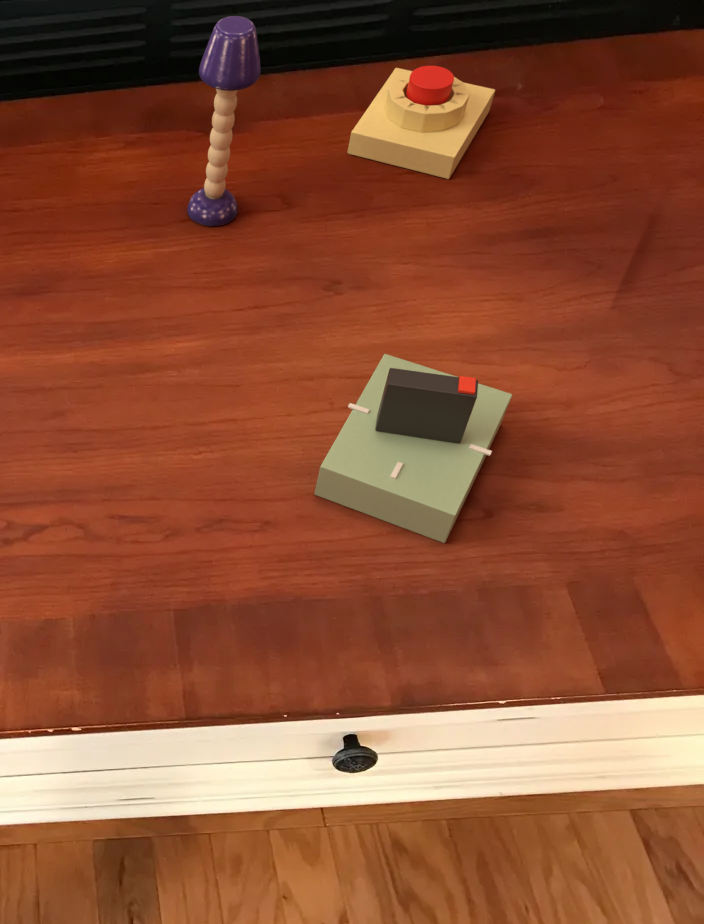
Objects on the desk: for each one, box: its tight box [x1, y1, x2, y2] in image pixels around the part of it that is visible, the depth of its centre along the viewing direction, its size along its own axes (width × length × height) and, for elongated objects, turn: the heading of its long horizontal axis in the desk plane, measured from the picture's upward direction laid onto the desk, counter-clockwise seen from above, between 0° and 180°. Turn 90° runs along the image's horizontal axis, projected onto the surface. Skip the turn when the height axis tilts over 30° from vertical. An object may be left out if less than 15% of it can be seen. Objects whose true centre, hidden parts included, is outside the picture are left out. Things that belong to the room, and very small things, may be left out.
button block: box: [347, 67, 496, 180], centre depth 100 cm, size 11×9×4 cm
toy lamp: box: [186, 15, 262, 227], centre depth 91 cm, size 5×5×17 cm
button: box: [406, 65, 455, 106], centre depth 98 cm, size 4×4×2 cm
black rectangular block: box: [375, 368, 479, 443], centre depth 75 cm, size 6×2×5 cm, turn 72°
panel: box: [314, 353, 513, 544], centre depth 78 cm, size 12×10×3 cm
